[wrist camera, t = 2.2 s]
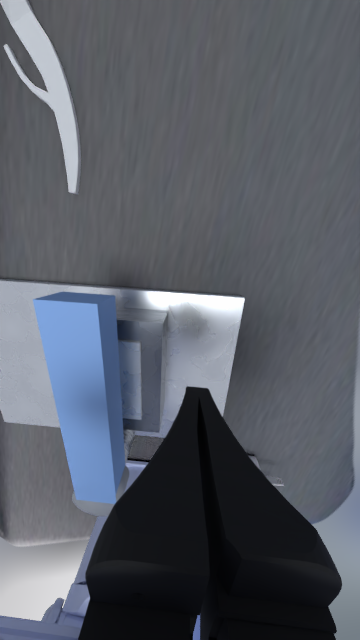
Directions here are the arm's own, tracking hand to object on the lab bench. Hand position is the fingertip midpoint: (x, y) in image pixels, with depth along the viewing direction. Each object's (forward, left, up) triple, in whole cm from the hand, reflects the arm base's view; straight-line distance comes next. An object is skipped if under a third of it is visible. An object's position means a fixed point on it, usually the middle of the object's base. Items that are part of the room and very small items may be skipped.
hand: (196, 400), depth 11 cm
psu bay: (-3, +9, -6) cm, 11 cm away
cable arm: (-3, +7, -1) cm, 7 cm away
